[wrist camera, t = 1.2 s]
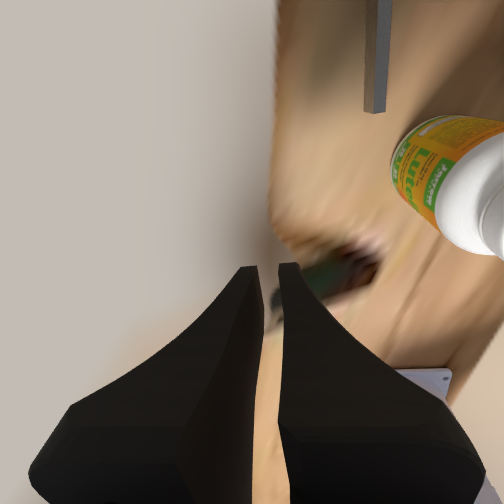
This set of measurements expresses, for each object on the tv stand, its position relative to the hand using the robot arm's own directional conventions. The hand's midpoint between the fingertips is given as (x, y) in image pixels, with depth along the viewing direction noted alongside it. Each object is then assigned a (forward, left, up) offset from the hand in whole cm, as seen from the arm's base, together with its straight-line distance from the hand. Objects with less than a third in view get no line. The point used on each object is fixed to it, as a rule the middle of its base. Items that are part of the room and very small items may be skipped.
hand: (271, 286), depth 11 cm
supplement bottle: (+1, -10, -11) cm, 15 cm away
